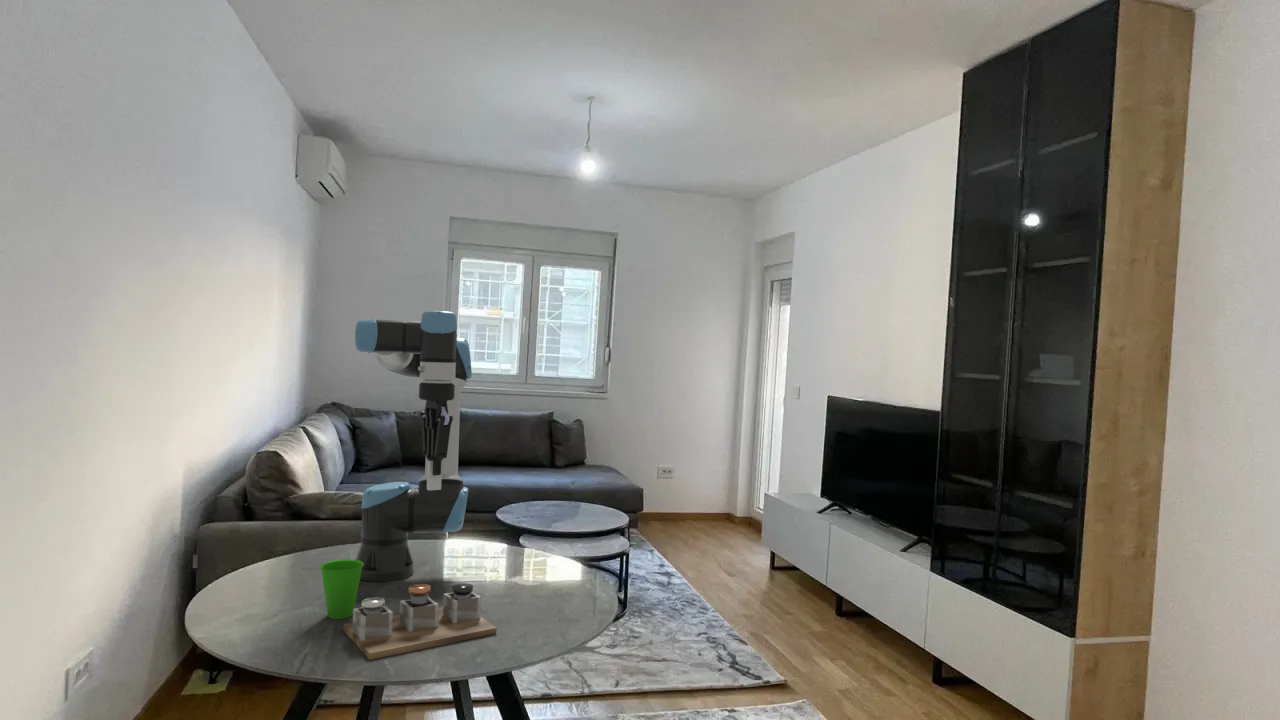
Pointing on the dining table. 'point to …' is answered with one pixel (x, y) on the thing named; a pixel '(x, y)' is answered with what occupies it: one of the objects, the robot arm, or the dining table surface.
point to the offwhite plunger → (372, 605)
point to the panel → (418, 626)
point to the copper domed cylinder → (419, 594)
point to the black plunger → (462, 590)
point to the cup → (341, 586)
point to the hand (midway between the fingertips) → (433, 489)
